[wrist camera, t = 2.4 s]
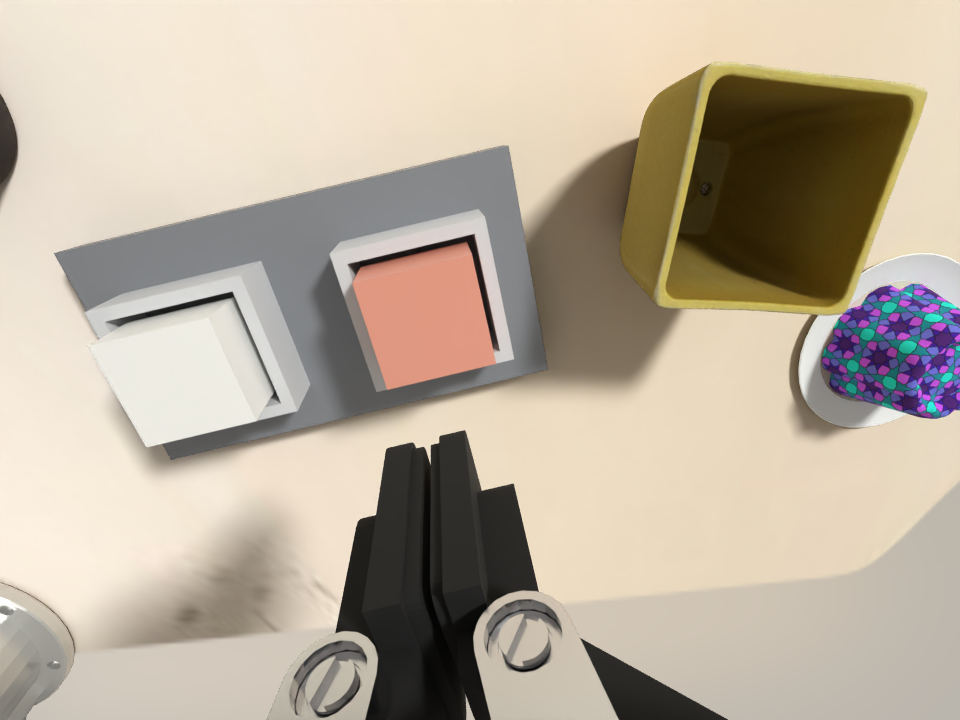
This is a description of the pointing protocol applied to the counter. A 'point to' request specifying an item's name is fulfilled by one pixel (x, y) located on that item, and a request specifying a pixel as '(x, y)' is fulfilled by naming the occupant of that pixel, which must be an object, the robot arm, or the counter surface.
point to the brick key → (425, 315)
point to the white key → (185, 372)
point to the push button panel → (325, 284)
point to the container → (6, 140)
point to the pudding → (889, 347)
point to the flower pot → (764, 187)
